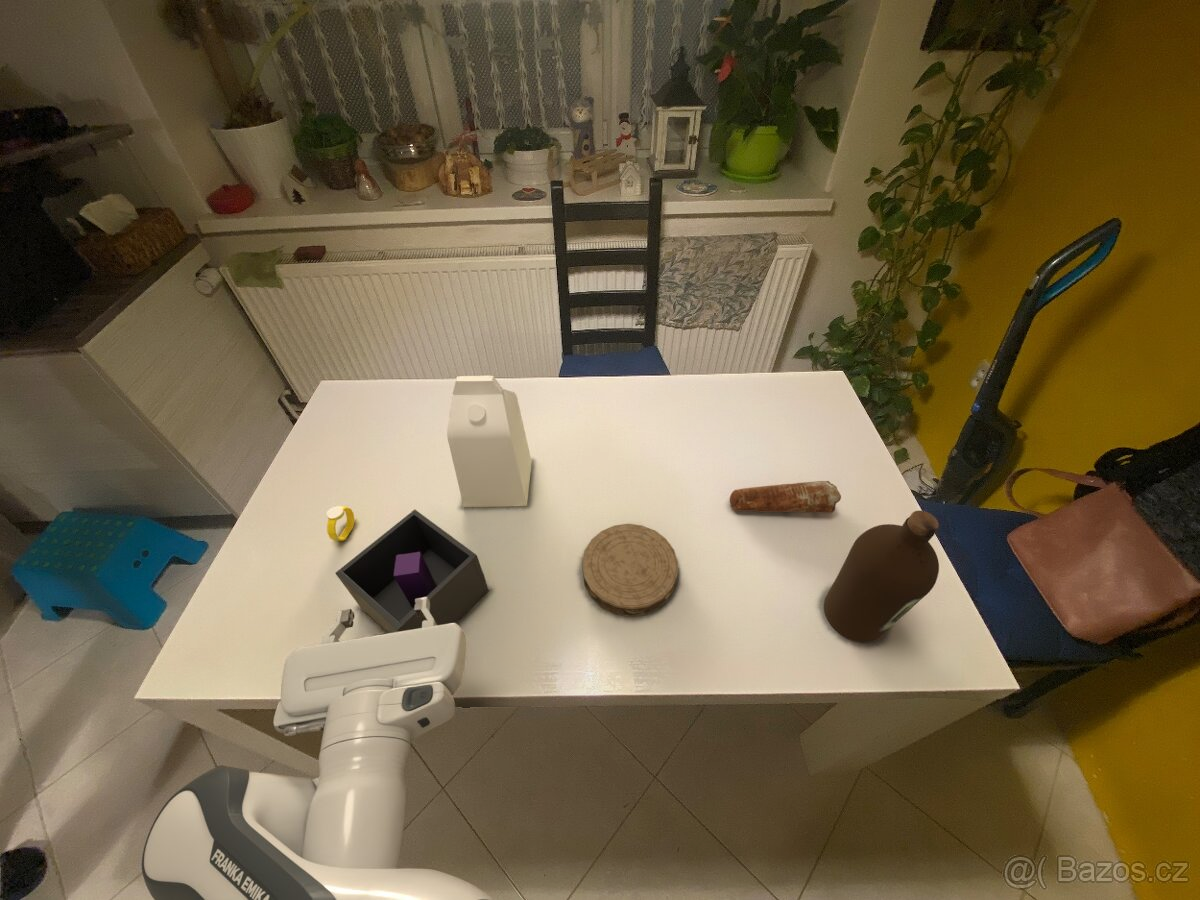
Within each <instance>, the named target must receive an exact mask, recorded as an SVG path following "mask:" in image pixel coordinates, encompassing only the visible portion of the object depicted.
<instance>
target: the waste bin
mask: <svg viewBox="0 0 1200 900" xmlns="http://www.w3.org/2000/svg"><path fill="white" fill-rule="evenodd" d="M416 552H421V554H422V556H423V558H424V560H425V562H426V564H427V567H428V569H429V571H430V573H431V575H432V577H433V579H434V581H435V583H436V588H435V589H434V590H433V591H432V592H431V593H430V594H428V595H427V596H426V597H428V599H429V601H430V614H431V615H432V617H433V618H434V620H435V622H436V624H437V625H443V624H449V623H456V624H458V623H459V622H460V621H461V620H462V619H463V618H464V617H465V616H466V615H467V614H468V613H469V612H470V611H471V610H472V609H473V608H474V607H475V606H476V605H477V604H478V603H479V601H481V599H482V598H484V596H485V595H487V594H488V592H489V591H490V590H489V587H488V584H487V583H488V582H487V581H486V577H485V575H484V571H483V568H482V565H481V564H480V559H479V557H478V555H477V554H476V553H475V552H473V550H471V549H470V548H468V547H467V546H465V544H463V543H462V542H460V541H459V540H457V539H456V538H454V537H453V536H452V535H451V534H449V533H448V532H447V531H445V530H444V529H442V528H441V527H440V526H438V525H437V524H436V523H434V522H433V521H432V520H431V519H429V518H428V517H426V516H425V515H423V514H422V513H420V512H419V511H418V510H417V509H413V510H412V511H411V512H409V513H408V514H407V515H406V516H404V517H403V518H402V519H401V520H400V521H398V522H397V523H395V524H394V525H393V526H392V527H390V528H389V529H388V530H387V531H385V532H384V533H383V534H381V536H378V538H377V539H375V541H373V542H372V543H370V544H369V545H368V546H367V547H365V548H364V549H363V550H362V551H361V552H359V553H358V554H357V555H356V556H354V557H353V558H352V559H350V560H349V561H348V562H347V563H345V564H344V565H343V566H342V567H340V569H338V570H337V571H336V572H335V575H336V577H337V578H338V579H339V580H340V582H341V583H342V585H343V586H344V588H345V589H346V590H347V591H348V593H349V595H350V596H351V597H352V598H353V599H354V601H355V602H356V604H357V605H358V607H359V608H360V609H361V610H362V611H363V612H364V613H366V614H367V615H368V616H369V617H370V618H371V619H372V620H373V621H374V622H375V623H376V624H377V625H378V626H379V627H381V628H382V629H383V630H384V632H386V634H388V633H394V632H401V631H407V630H413V629H419V628H422V622H423V621H425V620H427V619H426V618H425V616H417V613H416V612H415V610H414V608H412V607H411V605H410V603H409V602H408V600H407V598H406V597H405V595H404V593H403V591H402V590H401V588H400V586H399V585H398V583H397V581H396V579H395V578H394V569H395V561H396V555H402V554H409V553H416Z"/></svg>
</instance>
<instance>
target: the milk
mask: <svg viewBox="0 0 1200 900" xmlns="http://www.w3.org/2000/svg"><path fill="white" fill-rule="evenodd" d="M521 412H522V411H521V409H520V403H519V399H518V396H517V394H516V392H514V391H511V390H508V389H504V388H503V387H502V385H501V384H500V383H499V381H498V380H497V379H496V377H495V376H494V375H457V376H456V379H455V382H454V386H453V391H452V395H451V402H450V407H449V414H448V420H447V430H446V438H447V442H448V446H449V451H450V454H451V459H452V463H453V467H454V472H455V476H456V481H457V485H458V489H459V493H460V497H461V502H462V504H463V505H462V507H463V508H489V507H491V508H493V507H497V508H498V507H527V506H528V500H529V491H530V481H531V473H532V465H533V464H532V462H533V461H532V456H531V451H530V448H529V443H528V439H527V434H526V430H525V425H524V421H523V417H522V413H521Z"/></svg>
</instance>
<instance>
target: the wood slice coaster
mask: <svg viewBox="0 0 1200 900" xmlns="http://www.w3.org/2000/svg"><path fill="white" fill-rule="evenodd" d="M581 568H582V570H581V571H582V577H583V584H584V587H585V589H586V592H587V593H588V595H589V596H590V598H591V599H592V600H593V601H594V602H595V603H596V604H597V605H598V606H599V607H601V609H603V610H606V611H607V612H610V613H612V614H615V615H617V616H624V617H631V618H633V617H639V616H645V615H648V614H651V613H652V612H654V611H656V610H658V609H660V608H661V607H663V605H664V604H665V603H666V602H667V601H668V600H669V599H670V598H671V596H672V594H673V592H674V589H675V587H676V584H677V579H678V568H679V561H678V558H677V555H676V551H675V549H674V547H673V546H672V545H671V543H670V542H669V541H668V539H667V538H666V537H664V536H663V535H662V534H660V533H659V532H658V531H657V530H655V529H653V528H650V527H647V526H645V525H643V524H633V523H623V524H616V525H612V526H610V527H608V528H605V529H603V530H601V531H600V532H599V533H597V534H596V535H595V536H593V538H591V539H590V541H589V543H588V544H587V545H586V547H585V549H584V551H583V557H582V560H581Z"/></svg>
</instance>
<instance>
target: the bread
mask: <svg viewBox="0 0 1200 900" xmlns="http://www.w3.org/2000/svg"><path fill="white" fill-rule="evenodd" d="M841 499H842V495H841V493H840V491H839V490H838V488H837V486H836V485H835V484H834V483H831V482H830V481H829V480H817V481H816V480H815V481H804V482H795V483H783V484H772V485H763V486H754V487H745V488H738V489H734V490H733V491H732V492H731V494H730V495H729V504H730V507H731V508H732V509H733V510H734V511H737V512H748V511H749V512H764V513H765V512H770V513H771V512H772V513H775V512H780V513H783V512H784V513H785V512H790V513H791V512H792V513H819V514H822V513H823V514H824V513H826V514H830V513H831V514H832V513H834V512H835V510H836V505H837V504H838V503H839V502H840V501H841Z"/></svg>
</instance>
